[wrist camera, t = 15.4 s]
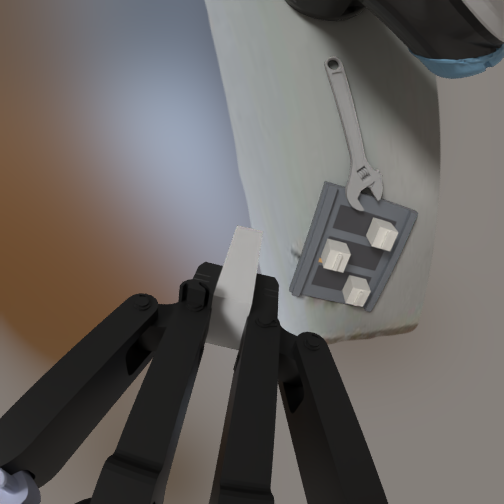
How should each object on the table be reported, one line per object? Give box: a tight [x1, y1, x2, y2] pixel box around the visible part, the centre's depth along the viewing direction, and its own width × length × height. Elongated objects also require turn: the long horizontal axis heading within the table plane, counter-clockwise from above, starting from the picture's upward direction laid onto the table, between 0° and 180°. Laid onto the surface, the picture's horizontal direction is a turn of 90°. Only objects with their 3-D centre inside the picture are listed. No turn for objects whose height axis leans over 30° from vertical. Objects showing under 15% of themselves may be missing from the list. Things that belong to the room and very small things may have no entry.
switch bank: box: [289, 181, 418, 312], centre depth 51 cm, size 22×18×2 cm
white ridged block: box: [342, 275, 371, 307], centre depth 52 cm, size 4×4×5 cm
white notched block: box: [366, 217, 398, 251], centre depth 46 cm, size 4×4×5 cm
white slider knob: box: [321, 238, 351, 273], centre depth 49 cm, size 4×4×5 cm
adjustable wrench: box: [324, 56, 383, 211], centre depth 41 cm, size 25×6×2 cm, turn 12°
